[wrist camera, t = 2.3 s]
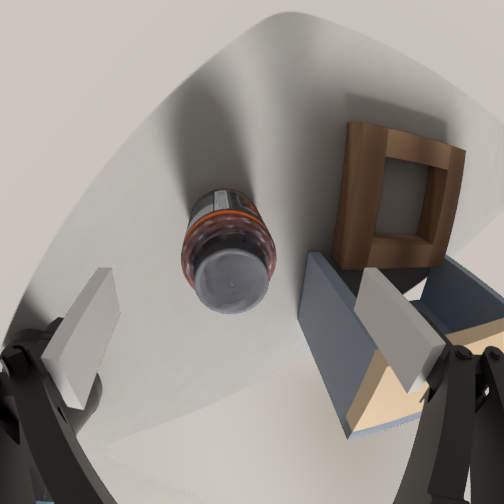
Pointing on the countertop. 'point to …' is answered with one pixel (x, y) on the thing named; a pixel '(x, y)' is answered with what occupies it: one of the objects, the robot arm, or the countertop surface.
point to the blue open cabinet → (367, 352)
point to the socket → (368, 197)
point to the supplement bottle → (228, 252)
